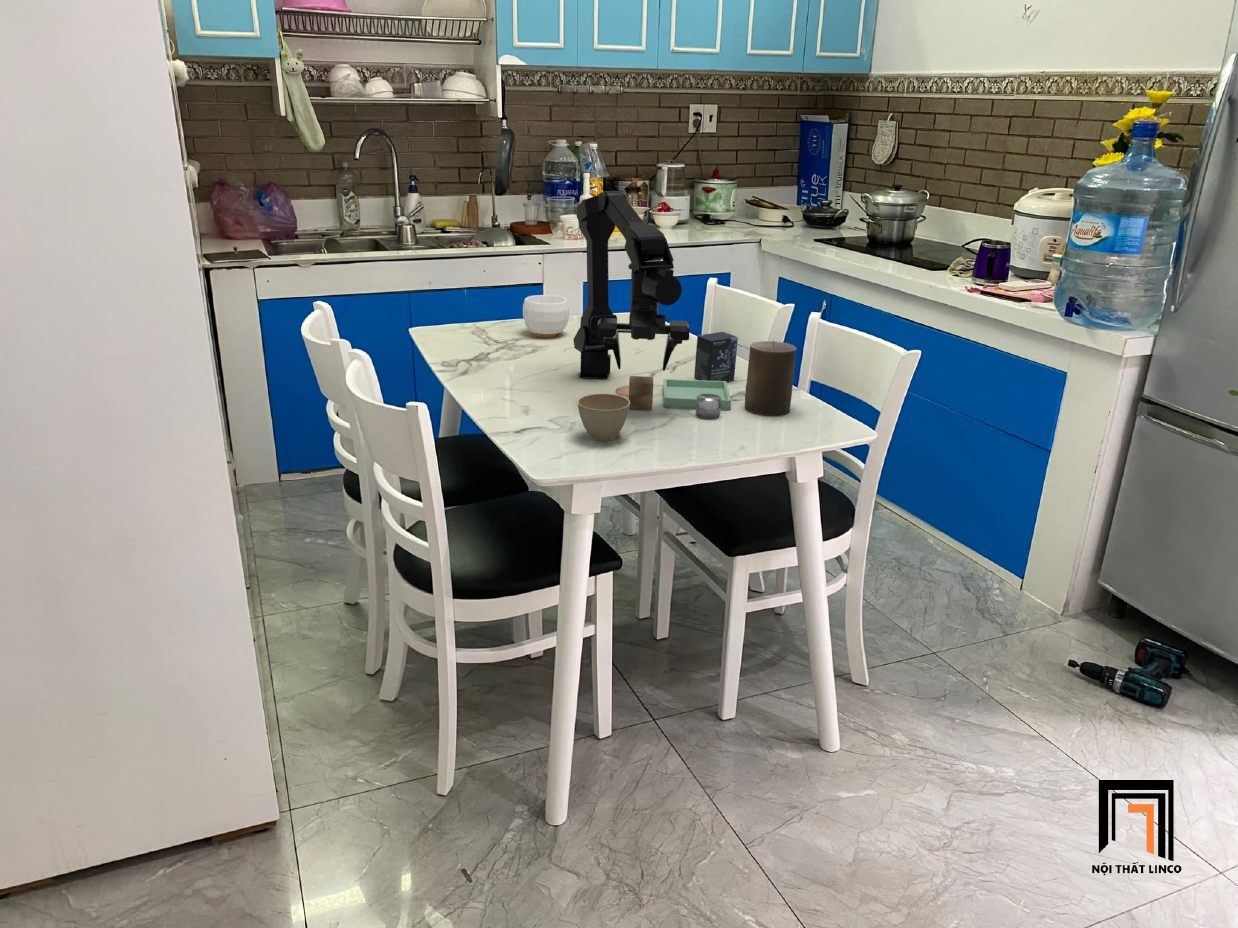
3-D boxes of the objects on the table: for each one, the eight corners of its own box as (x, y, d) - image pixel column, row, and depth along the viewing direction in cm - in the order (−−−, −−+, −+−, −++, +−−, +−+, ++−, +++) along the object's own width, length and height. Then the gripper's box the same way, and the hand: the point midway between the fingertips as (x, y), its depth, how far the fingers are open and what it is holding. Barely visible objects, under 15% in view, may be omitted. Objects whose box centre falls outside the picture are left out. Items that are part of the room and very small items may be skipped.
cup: (567, 341, 246) (567, 305, 243) (520, 340, 246) (520, 303, 243) (570, 330, 258) (570, 295, 254) (525, 328, 258) (525, 293, 254)
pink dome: (615, 398, 204) (615, 394, 204) (616, 388, 211) (616, 385, 210) (647, 399, 204) (647, 395, 204) (647, 389, 210) (647, 386, 210)
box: (708, 385, 214) (711, 340, 210) (693, 379, 218) (696, 334, 214) (735, 380, 218) (738, 336, 214) (719, 374, 222) (722, 330, 218)
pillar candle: (780, 419, 193) (788, 348, 188) (736, 410, 197) (743, 340, 192) (796, 407, 201) (804, 339, 196) (753, 399, 205) (760, 332, 200)
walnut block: (628, 410, 196) (629, 382, 193) (628, 402, 200) (629, 376, 198) (652, 411, 196) (653, 383, 193) (652, 403, 200) (653, 376, 198)
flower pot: (575, 427, 185) (576, 393, 182) (626, 427, 185) (627, 393, 183) (578, 446, 175) (578, 409, 173) (631, 445, 176) (632, 409, 174)
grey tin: (696, 419, 192) (697, 400, 190) (695, 411, 196) (696, 393, 195) (720, 420, 192) (721, 401, 190) (718, 412, 196) (720, 394, 195)
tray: (663, 407, 198) (664, 398, 197) (663, 387, 211) (663, 378, 210) (730, 410, 198) (731, 400, 197) (725, 390, 210) (726, 381, 210)
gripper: (596, 302, 182) (594, 379, 188) (692, 305, 181) (687, 382, 187) (599, 290, 192) (597, 363, 198) (690, 293, 192) (685, 367, 198)
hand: (641, 369), depth 195 cm, fingers open, 9 cm apart
